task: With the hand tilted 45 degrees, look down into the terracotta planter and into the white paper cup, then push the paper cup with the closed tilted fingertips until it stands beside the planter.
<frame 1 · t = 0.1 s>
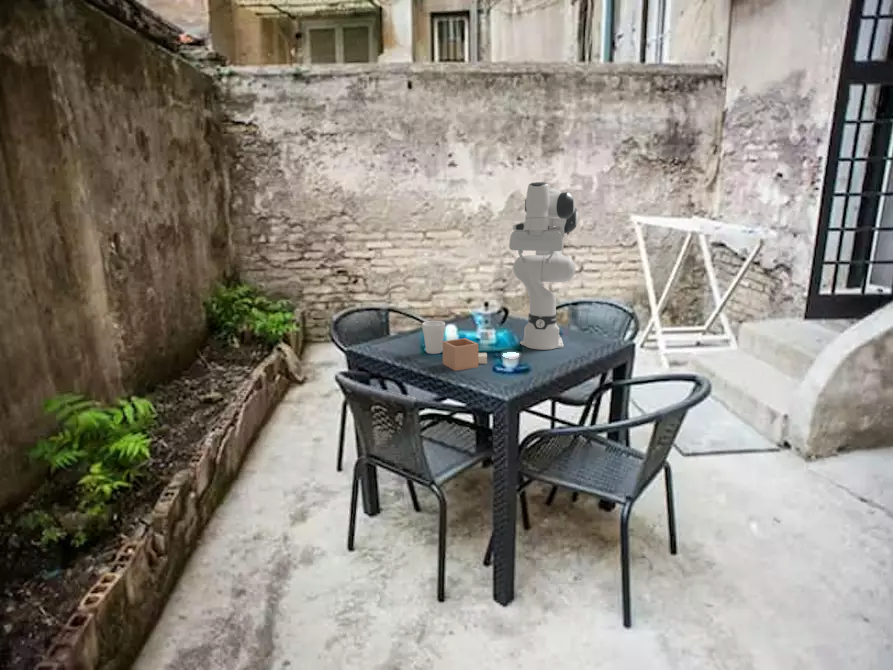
hand: (535, 263, 227), 39 cm above the table, tool pointing down, fingers open, 8 cm apart
foam cup: (434, 354, 247), on the table
limestone block: (480, 364, 233), on the table
planter: (460, 367, 228), on the table
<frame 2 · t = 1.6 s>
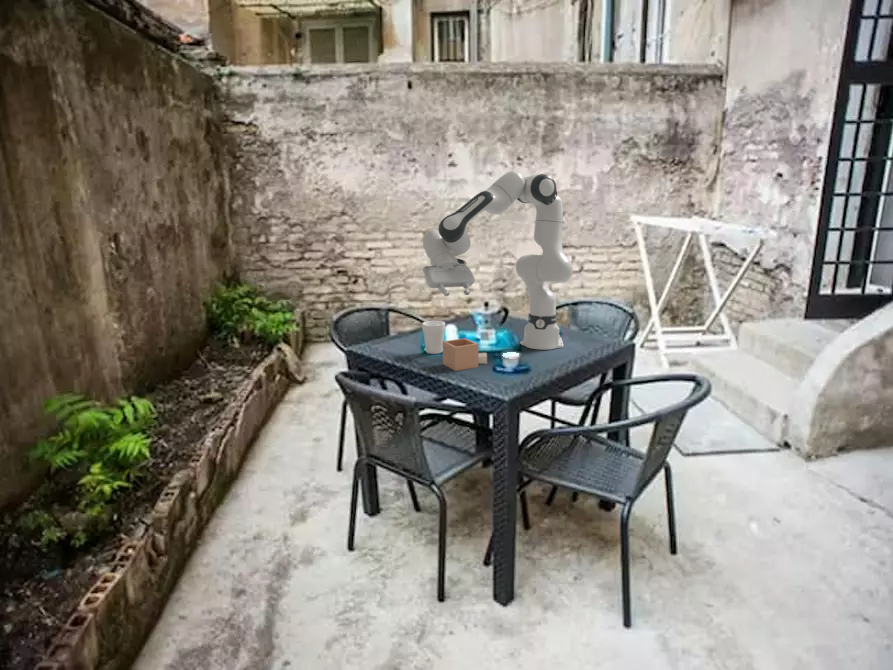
hand: (457, 294, 225), 28 cm above the table, tool tilted 45°, fingers open, 8 cm apart
nothing on the table moved.
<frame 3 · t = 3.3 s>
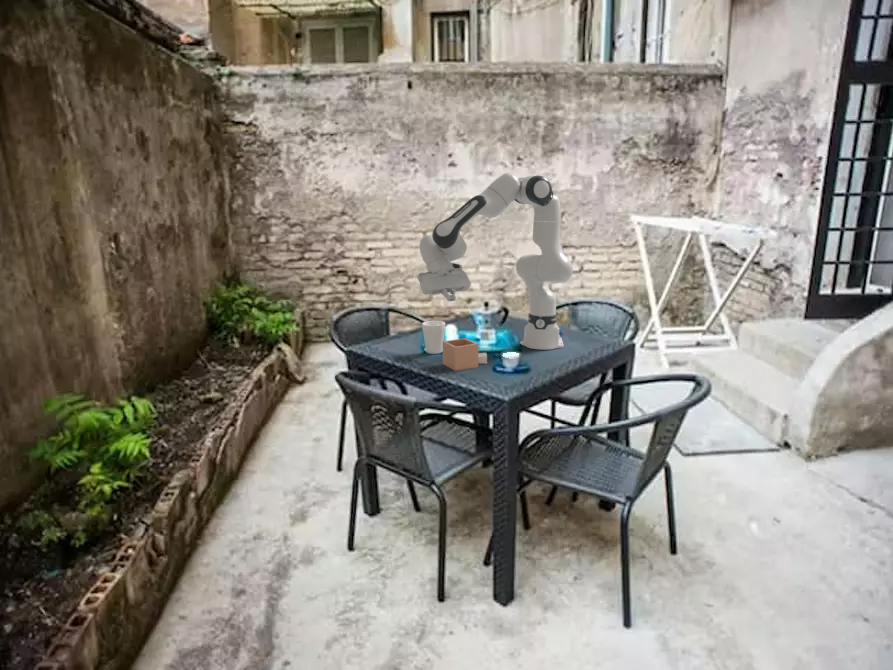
hand: (452, 300, 227), 25 cm above the table, tool tilted 45°, fingers closed
nothing on the table moved.
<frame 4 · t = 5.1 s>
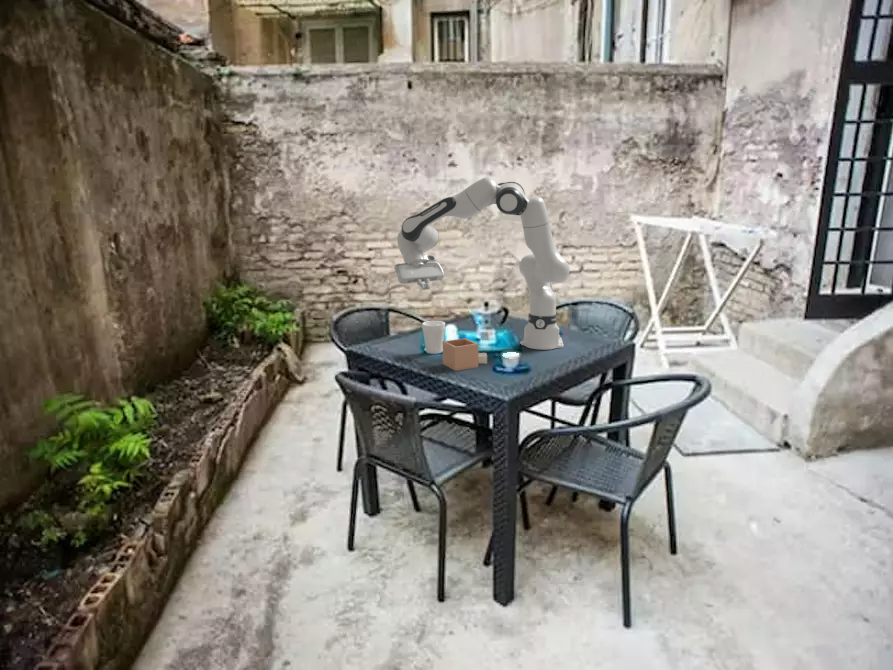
hand: (426, 288, 246), 26 cm above the table, tool tilted 45°, fingers closed
nothing on the table moved.
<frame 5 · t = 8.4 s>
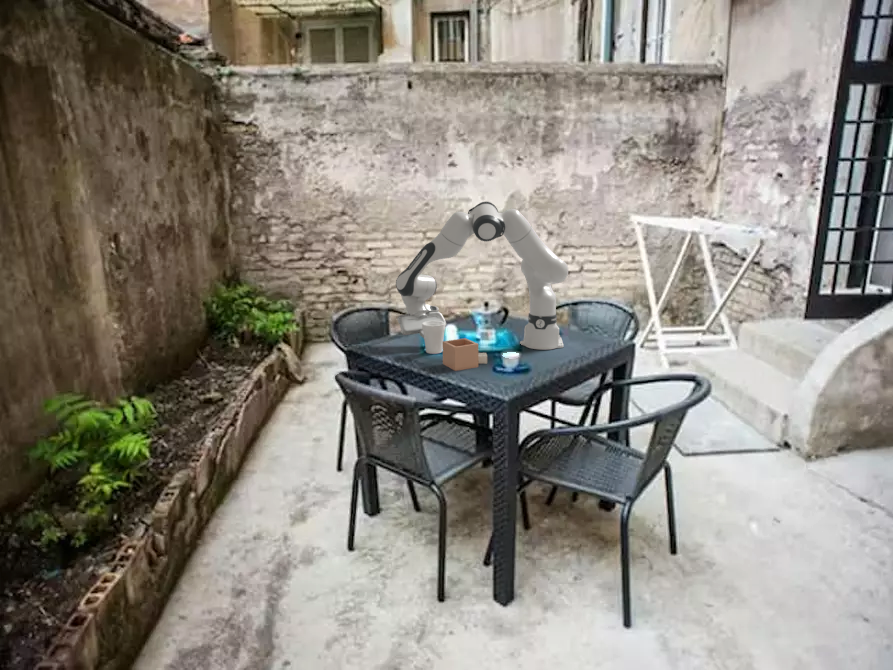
hand: (428, 339, 251), 5 cm above the table, tool tilted 45°, fingers closed, pressing on foam cup
foam cup: (434, 354, 247), on the table, touching gripper
everything else where it was.
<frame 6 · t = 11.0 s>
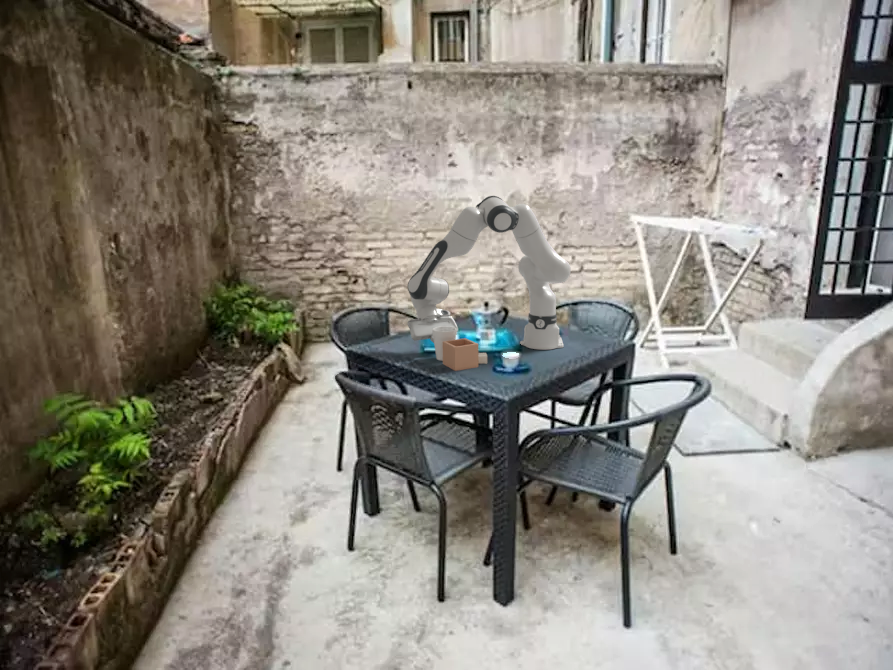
hand: (439, 345, 241), 5 cm above the table, tool tilted 45°, fingers closed, pressing on foam cup
foam cup: (444, 361, 238), on the table, touching gripper
everything else where it was.
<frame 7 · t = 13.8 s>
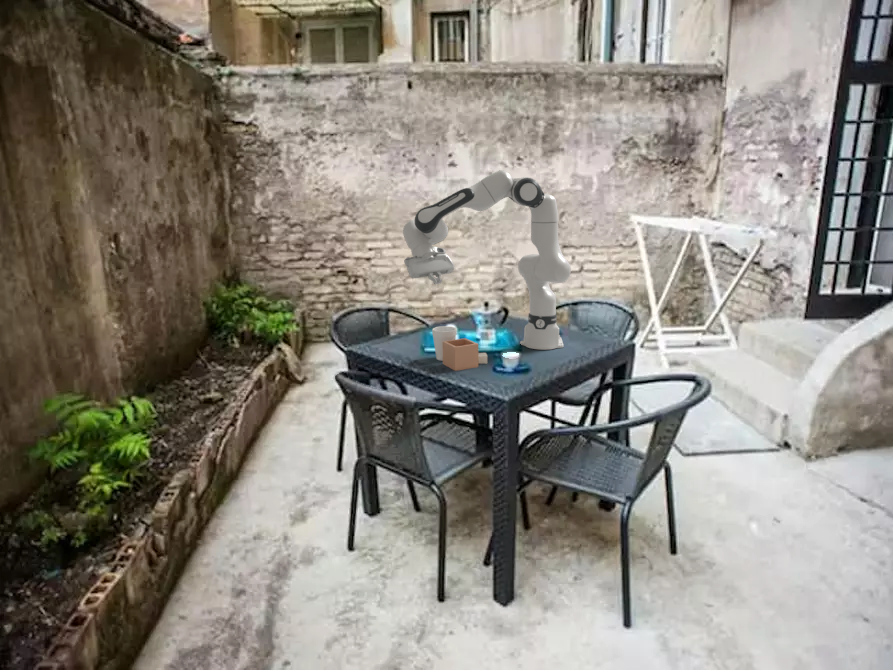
hand: (438, 282, 238), 30 cm above the table, tool tilted 45°, fingers closed
foam cup: (444, 361, 238), on the table
everything else where it was.
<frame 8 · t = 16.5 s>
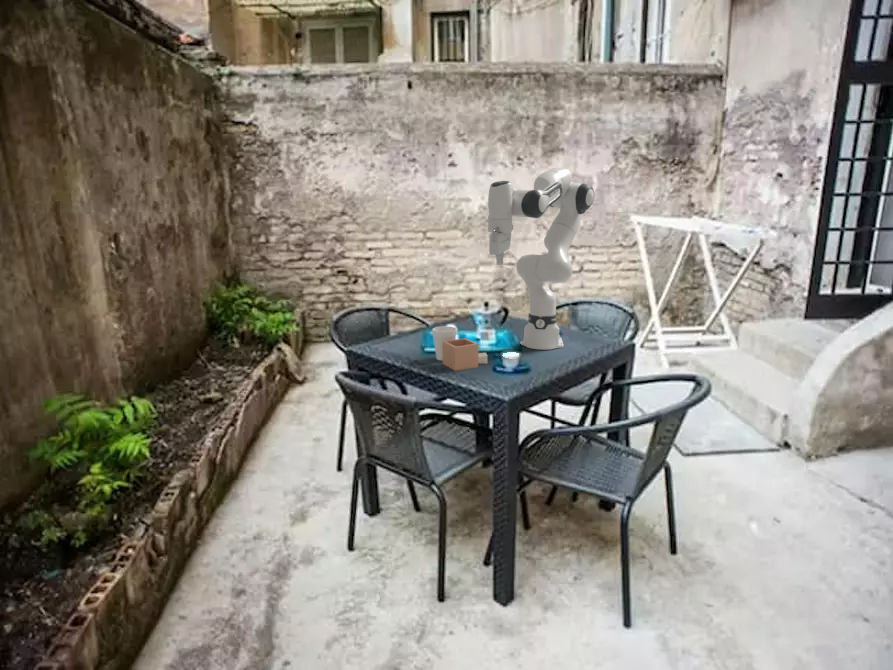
hand: (499, 264, 222), 39 cm above the table, tool pointing down, fingers closed
nothing on the table moved.
at the end: foam cup inside the target area (0.9 cm from its centre), on the table; foam cup tilted 0°; foam cup moved 11.0 cm from its start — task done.
